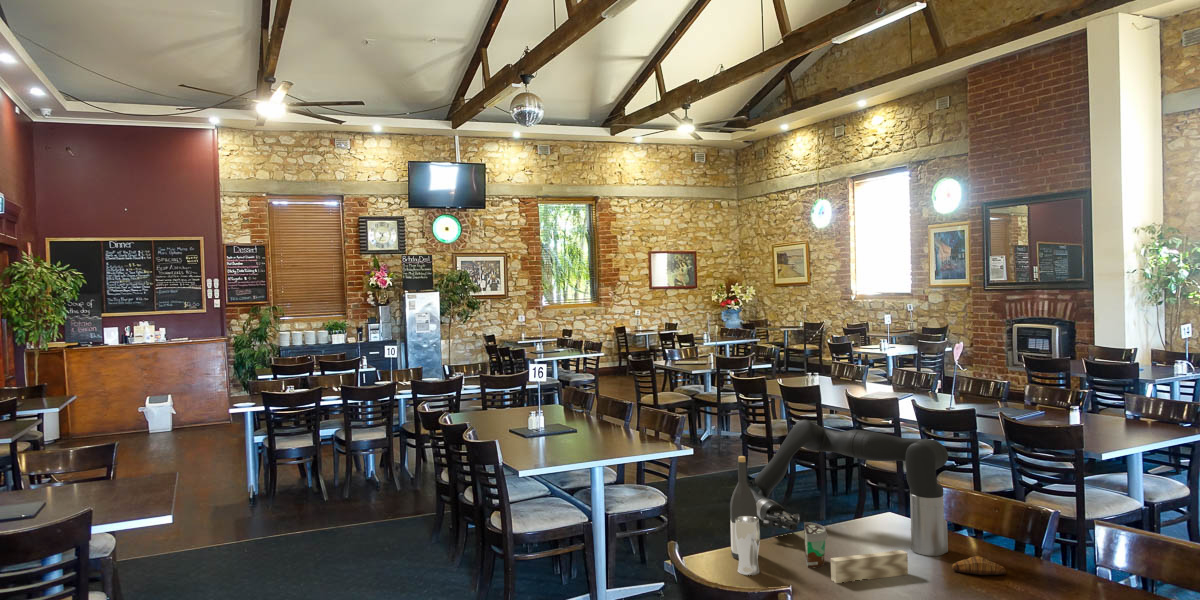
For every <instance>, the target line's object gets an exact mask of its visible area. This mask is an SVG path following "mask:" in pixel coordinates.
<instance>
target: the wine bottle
mask: <svg viewBox="0 0 1200 600" xmlns="http://www.w3.org/2000/svg"><path fill="white" fill-rule="evenodd" d="M737 458H738V461H737V475H738V482H737V483H736V486H735V488H734V490H733V492H732V494H731V495H732V496H731V498H730V503H729V512H730V513H729V514H730V515H729V519H730V552H731V556H732V557H733V559H736V560H739V555H738V550H737V545H736V539H735V522H736V518H737V517H739V516H753V517H756V518H758V516H757V506H756V502H755V498H754V496H753V493H752V491H751V489H750V488H751V487H750V486H749V484H748V481H747V461H746V456H744V455H739V456H738V457H737ZM749 487H750V488H749Z"/></svg>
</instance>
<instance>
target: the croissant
mask: <svg viewBox="0 0 1200 600" xmlns="http://www.w3.org/2000/svg"><path fill="white" fill-rule="evenodd" d="M951 569H952V571H954V572H957V573H961V574H968V575H976V576H977V575H978V576H1001V575H1005V574H1006V567H1004V566H1002V565H1001V564H999V563H996V562H993V561H991V560H988V559H986V558H985V557H982V556H980V555H975V556H970V557H969V558H966V559H962V560H959V561H956V562H955V563H953V564H952V566H951Z"/></svg>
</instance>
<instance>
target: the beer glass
mask: <svg viewBox="0 0 1200 600" xmlns="http://www.w3.org/2000/svg"><path fill="white" fill-rule="evenodd" d="M735 539H736V545H737V550H738V555H739V559H738V566H737V572H738V574H740V575H743V576H748V575H749V576H750V575H752V576H757V575H758V574H760V567H759V560H758V559H759V549H760V541H761V530H760V518H759V517H757V518H756V517H753V516H739V517H737V518H736V522H735Z"/></svg>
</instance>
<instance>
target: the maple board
mask: <svg viewBox="0 0 1200 600" xmlns="http://www.w3.org/2000/svg"><path fill="white" fill-rule="evenodd" d="M908 558H909V557H908V552H907V551H904V550H891V551H883V552H882V551H881V552H874V553H864V554H857V555H848V556H847V555H845V556H839V557H838V556H836V557H831V558H830V579H831V581H832V582H833V581H834V583H835V584H843V583H842V582H844V583H849V582H848V581H852V582H856V581H855V580H860V581H863V580H862V579H868V580H876V579H883V578H891V577H892V578H893V577H900V576H908V575H909V562H908Z"/></svg>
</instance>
